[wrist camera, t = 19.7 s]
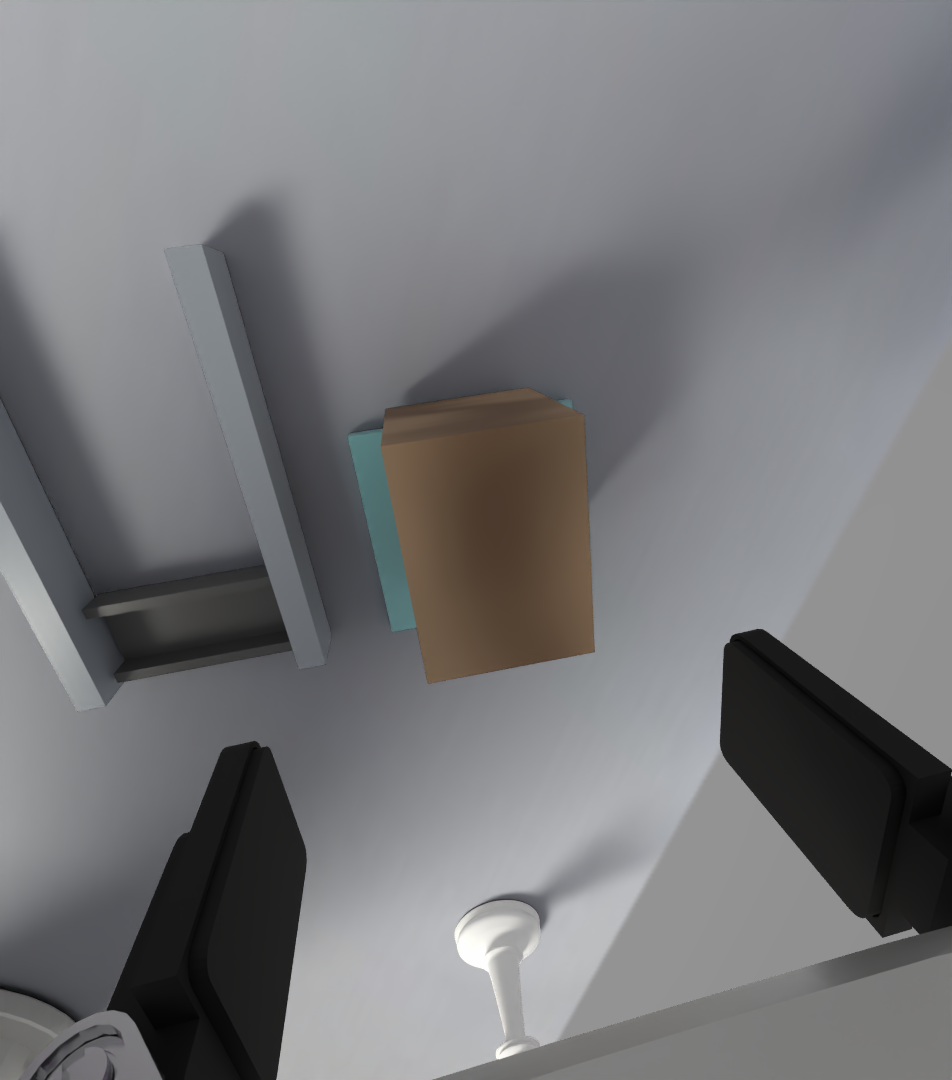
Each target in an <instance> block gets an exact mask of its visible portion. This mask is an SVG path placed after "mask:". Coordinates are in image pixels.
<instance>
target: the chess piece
mask: <svg viewBox="0 0 952 1080" xmlns="http://www.w3.org/2000/svg"><path fill="white" fill-rule="evenodd" d="M540 937H541V929H540V919H539V916H538V914H537V912H536V911H535V910H534V909H533V908H532V907H531V906H529V905H528V904H526V903H523V902H520V901H515V900H498V901H493V902H489V903H486V904H483V905H481V906H478V907H476V908H475V909H473V910H471V911H470V912H469V913H467V914H466V915H465V916H464V917H463V918H462V919H461V920H460V922H459V923H458V925H457V927H456V930H455V941H456V943H457V949H458V953H459V955H460V956H461V958H462V959H463V960H464V961H465V962H467V963H468V964H470V965H472V966H475V967H478V968H483V969H485V970H486V971H487V972H489V974H490V977H491V981H492V984H493V988H494V992H495V996H496V1000H497V1004H498V1008H499V1012H500V1016H501V1020H502V1024H503V1029H504V1033H505V1037H506V1041H505V1042H503V1043H502V1044H501V1045H500V1046H499V1047H498V1048H497V1050H496V1058H497V1059H502V1058H505V1057H508V1056H511V1055H515V1054H518V1053H521V1052H524V1051H528V1050H531V1049H534V1048H537V1047H540V1044H539V1042H538V1040H537V1039H535V1038H533V1037H530V1036H525V1029H524V1019H523V1011H522V999H521V986H520V973H519V965H520V964H521V962H522V961H523V959H524V958H526V957H527V956H528V955H530V954H531V953H532V952H533V951H534V949H535V948H536V947H537V945H538V943H539V940H540Z"/></svg>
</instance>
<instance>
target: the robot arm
mask: <svg viewBox="0 0 952 1080" xmlns="http://www.w3.org/2000/svg"><path fill="white" fill-rule="evenodd" d="M720 747H721V751H722V753H723V756H724V758H725V759H726V761H727V762H728V763H729V765H730V766H731V767H732V768H733V769H734V770H735V772H736V773H737V774H738V775H739V776H740V777H741V779H742V780H743V781H744V783H745V784H746V785H747V786H748V787H749V789H750V790H751V791H752V792H753V793H754V795H755V796H756V797H757V798H758V800H759V801H760V802H761V803H762V804H763V806H764V807H765V808H766V809H767V810H768V812H769V813H770V814H771V815H772V816H773V818H774V819H775V820H776V821H777V822H778V824H779V825H780V826H781V827H782V828H783V830H784V831H785V832H786V833H787V834H788V836H789V837H790V838H791V839H792V840H793V841H794V843H795V844H796V845H797V846H798V848H799V849H800V850H801V851H802V852H803V854H804V855H805V856H806V857H807V858H808V860H809V861H810V862H811V863H812V865H814V867H815V868H816V869H817V871H818V872H819V873H820V874H821V875H822V877H823V878H824V879H825V880H826V881H827V883H828V884H829V885H830V886H831V887H832V889H833V890H834V891H835V892H836V893H837V895H838V896H839V897H840V898H841V899H842V901H843V902H844V903H845V904H846V905H847V907H849V909H850V910H851V911H852V912H853V913H854V914H855V915H857V916H858V917H860V918H866V919H867V920H868V921H869V922H870V924H871V925H872V926H873V927H874V928H875V929H876V931H877V932H878V933H879V934H880V935H881V936H882V938H883V937H887V936H890V935H893V934H897V933H900V932H903V931H906V930H910V929H912V927H913V928H914V929H915V930H916V931H917V932H918V933H919V934H920V935H916V936H912V937H909V938H905V939H901V940H898V941H894V942H891V943H887V944H883V945H879V946H876V947H873V948H869V949H866V950H862V951H859V952H855V953H852V954H849V955H845V956H842V957H838V958H835V959H832V960H828V961H825V962H822V963H818V964H815V965H811V966H808V967H805V968H801V969H798V970H794V971H791V972H787V973H784V974H781V975H777V976H774V977H770V978H767V979H764V980H761V981H757V982H754V983H750V984H747V985H743V986H740V987H736V988H733V989H730V990H727V991H723V992H720V993H716V994H713V995H710V996H707V997H703V998H700V999H696V1000H693V1001H690V1002H686V1003H683V1004H680V1005H677V1006H673V1007H670V1008H666V1009H663V1010H660V1011H656V1012H653V1013H650V1014H646V1015H643V1016H640V1017H636V1018H633V1019H630V1020H627V1021H623V1022H620V1023H617V1024H613V1025H610V1026H607V1027H603V1028H600V1029H597V1030H593V1031H590V1032H587V1033H583V1034H580V1035H577V1036H574V1037H570V1038H567V1039H564V1040H560V1041H557V1042H554V1043H550V1044H547V1045H544V1046H541V1047H537V1048H534V1049H531V1050H528V1051H524V1052H521V1053H518V1054H515V1055H511V1056H508V1057H505V1058H502V1059H498V1060H495V1061H492V1062H489V1063H485V1064H482V1065H479V1066H476V1067H472V1068H469V1069H466V1070H463V1071H459V1072H456V1073H453V1074H450V1075H446V1076H443V1077H440V1078H437V1079H433V1080H952V776H951V772H952V769H951V768H949V767H948V766H946V765H945V764H944V763H942V762H941V761H940V760H939V759H937V758H936V757H934V756H933V755H932V754H930V753H929V752H928V751H926V750H925V749H923V748H922V747H921V746H920V745H918V744H917V743H916V742H914V741H913V740H911V739H910V738H909V737H908V736H906V735H905V734H904V733H902V732H901V731H899V730H898V729H897V728H895V727H894V726H893V725H891V724H890V723H889V722H887V721H886V720H885V719H883V718H882V717H881V716H879V715H878V714H877V713H875V712H874V711H872V710H871V709H870V708H869V707H867V706H866V705H864V704H863V703H862V702H860V701H859V700H858V699H857V698H855V697H854V696H852V695H851V694H850V693H848V692H847V691H846V690H844V689H843V688H841V687H840V686H839V685H838V684H836V683H835V682H834V681H832V680H831V679H830V678H828V677H827V676H825V675H824V674H823V673H821V672H820V671H819V670H818V669H816V668H815V667H813V666H812V665H811V664H809V663H808V662H807V661H805V660H804V659H803V658H801V657H800V656H799V655H797V654H796V653H795V652H793V651H792V650H790V649H789V648H788V647H787V646H785V645H784V644H783V643H781V642H780V641H779V640H777V639H776V638H775V637H773V636H772V635H770V634H769V633H768V632H766V631H765V630H763V629H756V630H752V631H747V632H743V633H738V634H734V635H733V636H732V637H731V639H730V643H727V644H726V645H725V647H724V659H723V683H722V706H721V729H720ZM306 864H307V858H306V849H305V845H304V842H303V839H302V836H301V833H300V831H299V828H298V825H297V822H296V819H295V817H294V814H293V811H292V808H291V805H290V803H289V800H288V797H287V794H286V791H285V789H284V786H283V783H282V780H281V777H280V775H279V772H278V769H277V766H276V763H275V761H274V758H273V755H272V752H271V750H270V748H269V747H267V746H266V747H262V748H261V747H260V745H259V743H258V742H256V741H253V742H248V743H244V744H239V745H235V746H230V747H226V748H224V749H223V750H222V752H221V754H220V756H219V759H218V761H217V764H216V766H215V769H214V772H213V774H212V777H211V779H210V782H209V784H208V787H207V790H206V792H205V795H204V797H203V800H202V802H201V805H200V808H199V810H198V813H197V815H196V818H195V820H194V823H193V826H192V828H191V831H190V832H188V833H184V834H183V835H182V836H180V837H179V838H178V840H177V842H176V844H175V845H174V847H173V850H172V852H171V855H170V857H169V859H168V862H167V864H166V867H165V869H164V872H163V874H162V877H161V879H160V881H159V884H158V886H157V889H156V891H155V894H154V896H153V899H152V901H151V903H150V906H149V908H148V911H147V913H146V916H145V918H144V921H143V923H142V925H141V928H140V930H139V933H138V935H137V938H136V940H135V942H134V945H133V947H132V950H131V952H130V955H129V957H128V960H127V962H126V964H125V967H124V969H123V972H122V974H121V977H120V979H119V982H118V984H117V986H116V989H115V991H114V994H113V996H112V999H111V1001H110V1003H109V1006H108V1008H107V1011H105V1012H99V1013H95V1014H93V1015H91V1016H89V1017H87V1018H84V1019H82V1020H80V1021H78V1022H75V1021H73V1020H72V1019H71V1018H70V1017H69V1016H68V1015H66V1014H65V1013H63V1012H61V1011H60V1010H58V1009H56V1008H55V1007H53V1006H51V1005H49V1004H47V1003H44V1002H42V1001H40V1000H37V999H35V998H32V997H30V996H26V995H23V994H19V993H15V992H11V991H8V990H3V989H0V1080H276V1078H277V1072H278V1065H279V1058H280V1051H281V1043H282V1036H283V1029H284V1022H285V1015H286V1008H287V1001H288V994H289V986H290V979H291V972H292V965H293V958H294V951H295V944H296V937H297V930H298V922H299V915H300V908H301V901H302V894H303V887H304V880H305V873H306Z"/></svg>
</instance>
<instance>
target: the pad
mask: <svg viewBox="0 0 952 1080" xmlns="http://www.w3.org/2000/svg"><path fill="white" fill-rule="evenodd" d="M557 402H559V403H561V404H563V405H565V406H567V407H569V408H571V409H573V404H572V401H571V400H568V399H564V400H558V401H557ZM382 431H383V428H381V429H374V430H368V431H362V432H355V433H349V434H348V441H349V446H350V450H351V455H352V459H353V463H354V468H355V472H356V476H357V481H358V485H359V490H360V494H361V498H362V503H363V507H364V511H365V516H366V520H367V525H368V529H369V533H370V538H371V542H372V546H373V551H374V555H375V560H376V564H377V568H378V573H379V577H380V581H381V586H382V590H383V594H384V599H385V603H386V608H387V612H388V616H389V621H390V625H391V629H392V632H397V631H402V630H407V629H413V628H417V627H416V622H415V617H414V612H413V607H412V602H411V597H410V592H409V587H408V582H407V577H406V572H405V567H404V562H403V557H402V552H401V547H400V542H399V537H398V532H397V527H396V522H395V517H394V512H393V507H392V502H391V497H390V492H389V487H388V482H387V477H386V472H385V467H384V462H383V457H382V452H381V447H380V446H381V439H382Z"/></svg>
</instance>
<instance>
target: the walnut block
mask: <svg viewBox="0 0 952 1080" xmlns="http://www.w3.org/2000/svg"><path fill="white" fill-rule="evenodd" d="M380 447H381V452H382V457H383V462H384V467H385V472H386V477H387V482H388V487H389V492H390V497H391V502H392V507H393V512H394V517H395V522H396V527H397V532H398V537H399V542H400V547H401V552H402V557H403V562H404V567H405V572H406V577H407V582H408V587H409V592H410V597H411V602H412V607H413V612H414V617H415V622H416V627H417V632H418V637H419V642H420V647H421V652H422V657H423V662H424V668H425V673H426V678H427V683H428V684H430V683H435V682H440V681H446V680H451V679H456V678H461V677H467V676H472V675H477V674H482V673H488V672H493V671H498V670H503V669H508V668H514V667H519V666H524V665H529V664H535V663H540V662H545V661H550V660H556V659H561V658H566V657H571V656H577V655H582V654H587V653H592V652H595V647H594V624H593V602H592V579H591V557H590V534H589V512H588V489H587V467H586V444H585V422H584V415H583V414H581V413H579V412H577V411H575V410H573V409H571V408H569V407H567V406H565V405H563V404H561V403H559V402H557V401H555V400H553V399H551V398H549V397H547V396H545V395H543V394H541V393H539V392H537V391H535V390H533V389H531V388H522V389H515V390H508V391H502V392H495V393H488V394H482V395H475V396H468V397H462V398H455V399H448V400H441V401H435V402H428V403H421V404H415V405H408V406H401V407H395V408H388V409H385V417H384V424H383V431H382V439H381V446H380Z"/></svg>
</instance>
